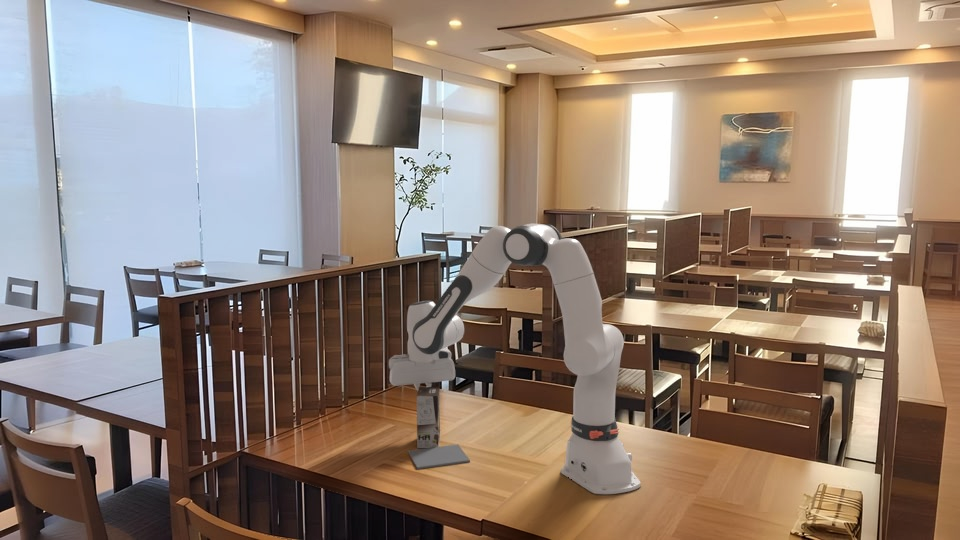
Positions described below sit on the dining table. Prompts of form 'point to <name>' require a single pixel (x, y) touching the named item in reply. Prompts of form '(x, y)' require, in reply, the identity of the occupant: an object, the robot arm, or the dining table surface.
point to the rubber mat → (438, 456)
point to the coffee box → (428, 417)
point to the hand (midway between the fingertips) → (423, 396)
